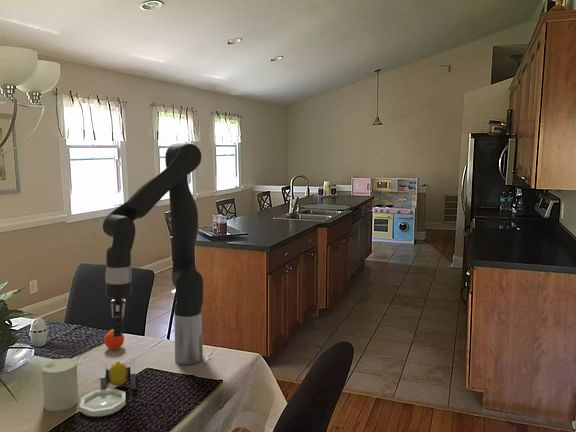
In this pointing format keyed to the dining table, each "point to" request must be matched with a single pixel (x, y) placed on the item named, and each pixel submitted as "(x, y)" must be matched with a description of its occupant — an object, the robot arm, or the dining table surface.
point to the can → (60, 384)
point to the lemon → (118, 374)
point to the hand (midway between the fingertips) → (118, 331)
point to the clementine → (113, 340)
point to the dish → (102, 402)
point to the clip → (105, 374)
